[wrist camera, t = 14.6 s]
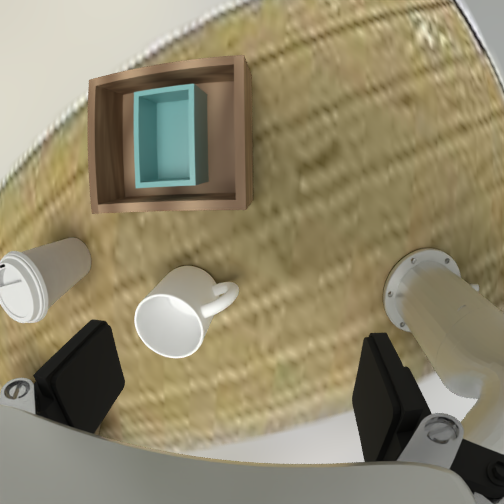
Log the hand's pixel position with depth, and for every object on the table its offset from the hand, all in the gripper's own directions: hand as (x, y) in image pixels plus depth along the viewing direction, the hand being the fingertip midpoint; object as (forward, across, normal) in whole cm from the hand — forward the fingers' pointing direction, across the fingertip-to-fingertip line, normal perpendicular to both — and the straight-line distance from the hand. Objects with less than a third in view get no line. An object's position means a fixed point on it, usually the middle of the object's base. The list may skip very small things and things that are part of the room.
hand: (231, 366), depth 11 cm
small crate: (+29, +11, -10) cm, 33 cm away
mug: (+31, +9, +10) cm, 33 cm away
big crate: (+30, +11, -10) cm, 34 cm away
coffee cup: (+31, +30, +6) cm, 43 cm away
